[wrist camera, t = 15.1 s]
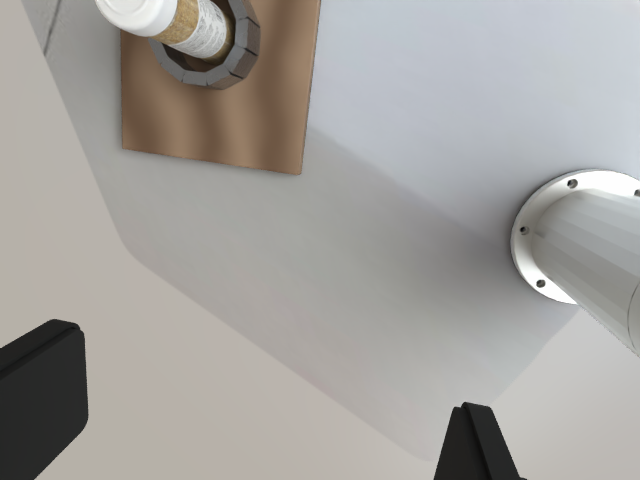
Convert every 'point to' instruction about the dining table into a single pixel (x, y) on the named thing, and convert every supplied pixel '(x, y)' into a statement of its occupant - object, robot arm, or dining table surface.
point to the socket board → (227, 97)
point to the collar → (235, 63)
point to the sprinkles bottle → (176, 24)
